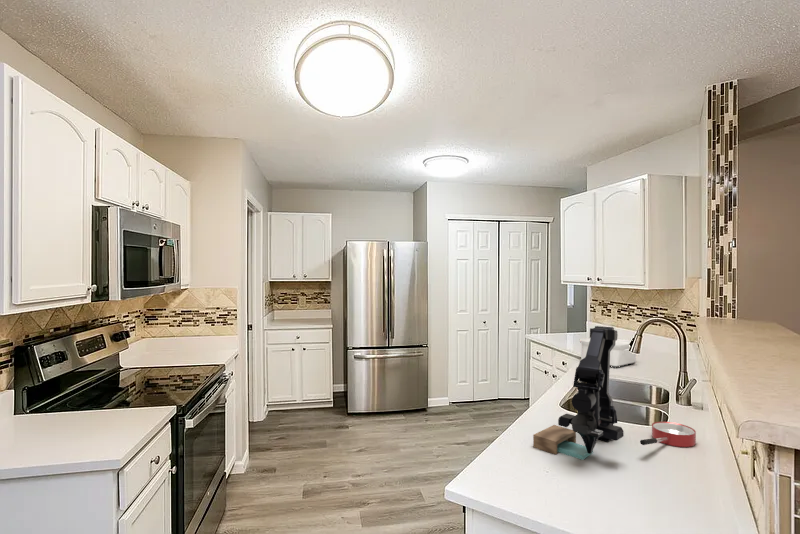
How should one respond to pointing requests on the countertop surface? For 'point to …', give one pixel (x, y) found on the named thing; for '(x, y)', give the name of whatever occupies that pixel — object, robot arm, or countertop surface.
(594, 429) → the robot arm
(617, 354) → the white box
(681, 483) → the countertop surface
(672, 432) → the frying pan
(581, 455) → the teal rectangular slab
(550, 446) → the overhang
